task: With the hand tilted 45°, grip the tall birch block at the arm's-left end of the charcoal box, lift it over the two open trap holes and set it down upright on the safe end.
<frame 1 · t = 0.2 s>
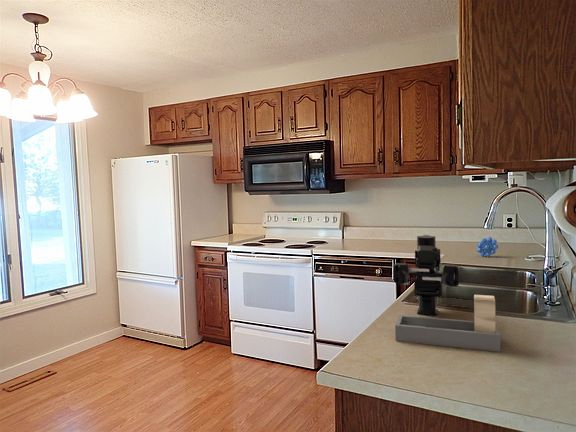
hand: (424, 281, 120), 17 cm above the counter, tool horizontal, fingers open, 9 cm apart
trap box: (446, 339, 119), on the counter
grapes: (487, 257, 247), on the counter
birch block: (484, 336, 115), point 2 cm above the counter, touching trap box
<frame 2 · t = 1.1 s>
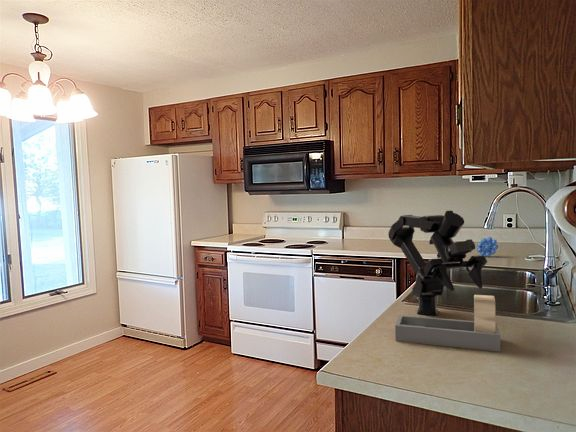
hand: (467, 289, 122), 14 cm above the counter, tool tilted 45°, fingers open, 9 cm apart
nothing on the counter moved.
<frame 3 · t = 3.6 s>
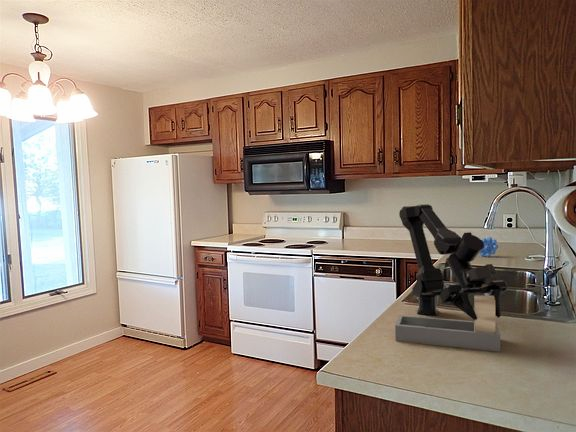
hand: (487, 318, 113), 8 cm above the counter, tool tilted 45°, fingers closed on birch block, 7 cm apart
birch block: (484, 336, 115), point 2 cm above the counter, touching gripper, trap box
everything else where it was.
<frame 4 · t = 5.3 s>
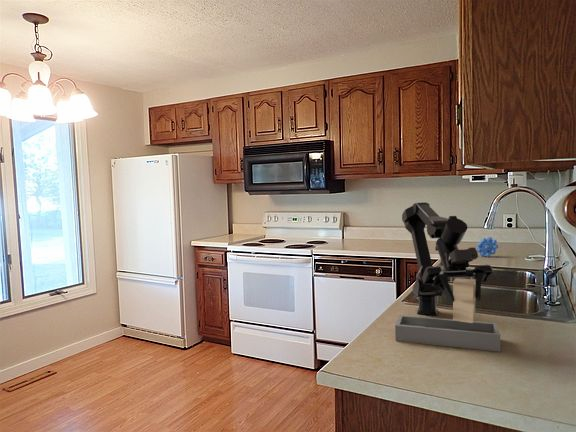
hand: (466, 300, 114), 12 cm above the counter, tool tilted 45°, fingers closed on birch block, 7 cm apart
birch block: (464, 319, 116), point 7 cm above the counter, touching gripper
everything else where it was.
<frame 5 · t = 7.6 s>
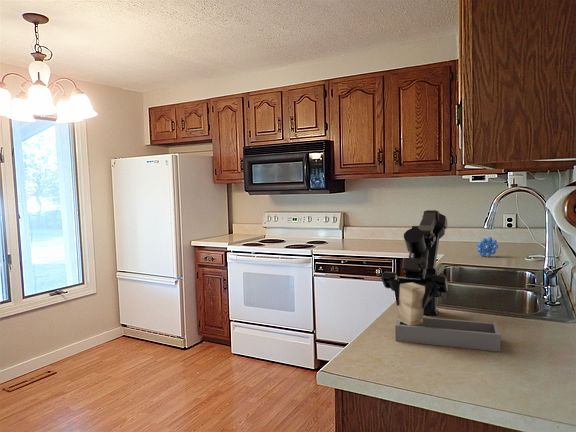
hand: (409, 306, 121), 9 cm above the counter, tool tilted 45°, fingers closed on birch block, 7 cm apart
birch block: (410, 321, 123), point 4 cm above the counter, touching gripper, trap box
everything else where it was.
when the fingers open (9 cm above the counter, at t = 7.7 s): birch block stays where it is, resting on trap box.
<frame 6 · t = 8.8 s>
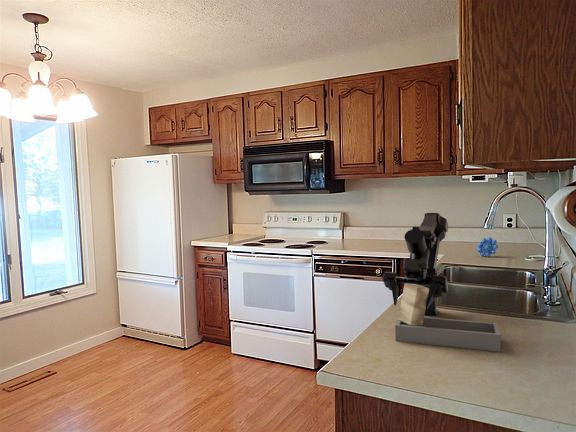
hand: (410, 306, 122), 9 cm above the counter, tool tilted 45°, fingers open, 9 cm apart
birch block: (410, 322, 123), point 4 cm above the counter, tilted 12°, touching gripper, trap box
everything else where it was.
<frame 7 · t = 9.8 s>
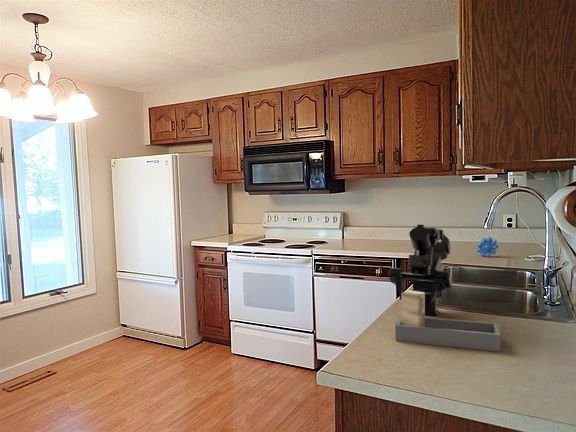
hand: (415, 300, 128), 9 cm above the counter, tool tilted 45°, fingers open, 9 cm apart
birch block: (412, 329, 122), point 2 cm above the counter, touching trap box
everything else where it was.
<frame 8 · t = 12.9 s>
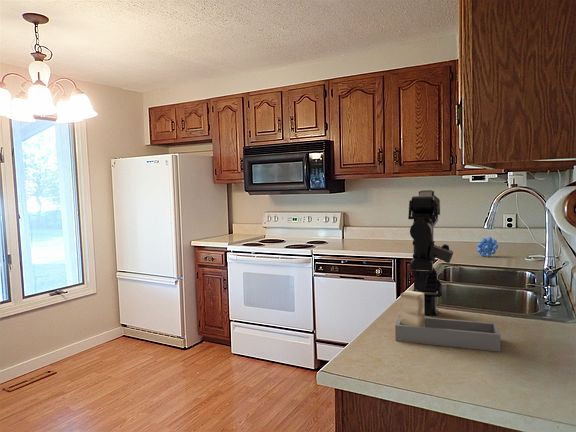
hand: (423, 287, 127), 13 cm above the counter, tool pointing down, fingers open, 9 cm apart
nothing on the counter moved.
at the end: birch block inside the target area (0.8 cm from its centre), point 2.0 cm above the counter; birch block tilted 0°; the gripper is holding nothing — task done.
